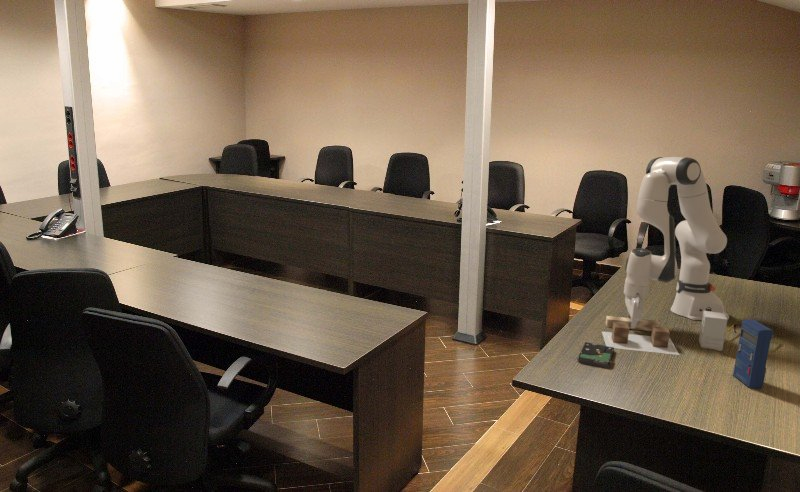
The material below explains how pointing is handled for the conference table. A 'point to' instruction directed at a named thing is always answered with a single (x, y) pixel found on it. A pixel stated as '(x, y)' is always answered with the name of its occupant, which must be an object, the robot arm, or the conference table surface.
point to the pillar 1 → (620, 333)
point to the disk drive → (596, 355)
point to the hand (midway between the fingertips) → (631, 323)
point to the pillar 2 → (660, 337)
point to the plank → (640, 325)
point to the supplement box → (713, 330)
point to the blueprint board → (639, 344)
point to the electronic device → (752, 353)
